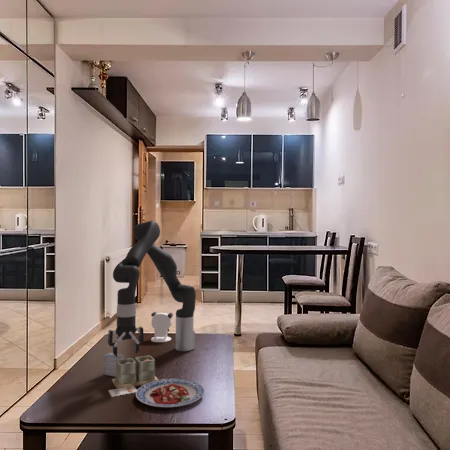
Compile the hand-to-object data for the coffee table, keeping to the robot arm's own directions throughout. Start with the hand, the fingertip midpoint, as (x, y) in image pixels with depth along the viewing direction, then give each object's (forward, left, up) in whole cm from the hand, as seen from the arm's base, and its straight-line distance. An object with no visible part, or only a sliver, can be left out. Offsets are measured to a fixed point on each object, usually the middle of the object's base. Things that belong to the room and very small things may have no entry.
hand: (125, 354), depth 171 cm
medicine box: (+2, -12, -12) cm, 17 cm away
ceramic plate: (-12, +20, -13) cm, 26 cm away
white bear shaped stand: (-34, -55, -12) cm, 66 cm away
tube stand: (-4, 0, -12) cm, 13 cm away
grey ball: (-1, +1, -5) cm, 5 cm away
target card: (+3, +8, -12) cm, 15 cm away
